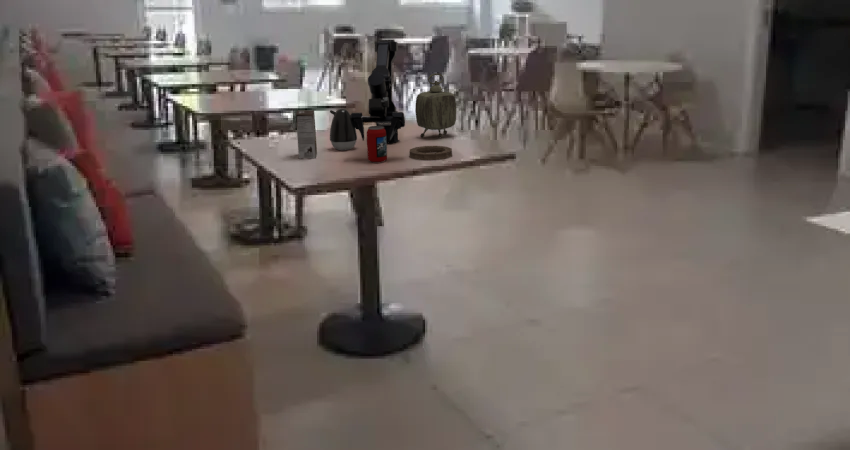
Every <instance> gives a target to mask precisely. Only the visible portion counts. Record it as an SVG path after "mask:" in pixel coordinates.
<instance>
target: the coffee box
mask: <svg viewBox="0 0 850 450" xmlns="http://www.w3.org/2000/svg"><path fill="white" fill-rule="evenodd" d="M315 117H316V116H315V110H314V109H310V110H309V109H302V110H301V109H299V110H296V113H295V121H296V133H297V134H296V135H297V136H296V137H297V149H298V151H297V152H298V159H299V160H302V159H301V158H310V159H316V158H317V155H318V148H317V134H316V133H317V132H316V131H317V130H316V118H315Z"/></svg>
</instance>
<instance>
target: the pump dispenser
mask: <svg viewBox="0 0 850 450" xmlns="http://www.w3.org/2000/svg"><path fill="white" fill-rule="evenodd" d="M329 113H330V114H331V115H332V117H333V118H332V120H331V123H330V129H329V130H330V131H329V142H330V143H331V145H332V147H333V148H334V149H335V150H337V151H348V150H351V149H354V147H355V145H356V143H357V140H358V134H357V129H356V128H353V127H352V124H351V120H350V115H351V113H350V112H349V110H348V109H345V108H339V109H337V110H336V111H335V110H332V109H330V110H329Z"/></svg>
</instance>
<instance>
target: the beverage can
mask: <svg viewBox="0 0 850 450" xmlns="http://www.w3.org/2000/svg"><path fill="white" fill-rule="evenodd" d="M387 144H388V143H387V142H386V131H385V129H384V127H383V126H376V125H371V126H368V128H367V130H366V147H367V148H366V149H367V150H366V151H367V152H366V153H367V160H368V161H369V162H370V163H373V162H380V163H384V162H386V160H387V159H388V145H387Z"/></svg>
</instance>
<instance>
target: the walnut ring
mask: <svg viewBox="0 0 850 450" xmlns="http://www.w3.org/2000/svg"><path fill="white" fill-rule="evenodd" d="M451 157H453V149H452V147H449V146H445V145H443V146H442V145H423V146H415V147H412V148H410V149H409V158H411V159H414V160H419V161H420V160H421V161H437V160H438V161H439V160H445V159H449V158H451Z"/></svg>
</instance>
